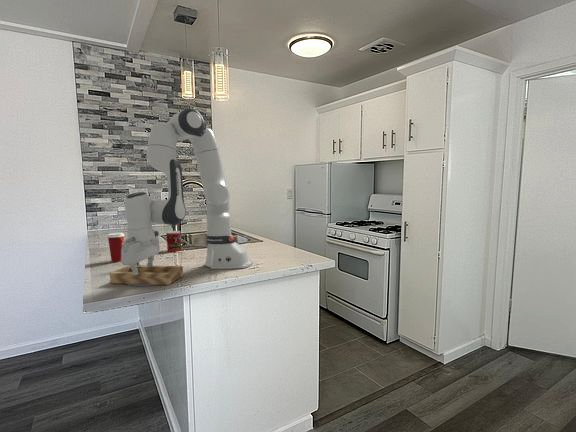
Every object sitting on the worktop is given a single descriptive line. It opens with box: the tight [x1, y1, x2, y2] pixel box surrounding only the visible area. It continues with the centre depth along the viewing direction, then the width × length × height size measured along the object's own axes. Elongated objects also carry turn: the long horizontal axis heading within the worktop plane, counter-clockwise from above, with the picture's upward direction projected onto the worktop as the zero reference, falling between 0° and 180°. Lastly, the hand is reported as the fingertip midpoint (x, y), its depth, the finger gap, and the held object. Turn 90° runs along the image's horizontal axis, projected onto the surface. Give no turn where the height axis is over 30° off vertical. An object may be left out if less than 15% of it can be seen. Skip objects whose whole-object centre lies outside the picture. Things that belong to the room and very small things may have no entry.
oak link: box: [109, 264, 184, 286], centre depth 129 cm, size 24×12×4 cm, turn 82°
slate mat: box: [127, 284, 157, 287], centre depth 130 cm, size 16×16×1 cm
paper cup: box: [107, 232, 125, 263], centre depth 163 cm, size 8×8×14 cm
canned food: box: [166, 230, 182, 253], centre depth 186 cm, size 8×8×11 cm
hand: (143, 270), depth 124 cm, fingers open, 8 cm apart
